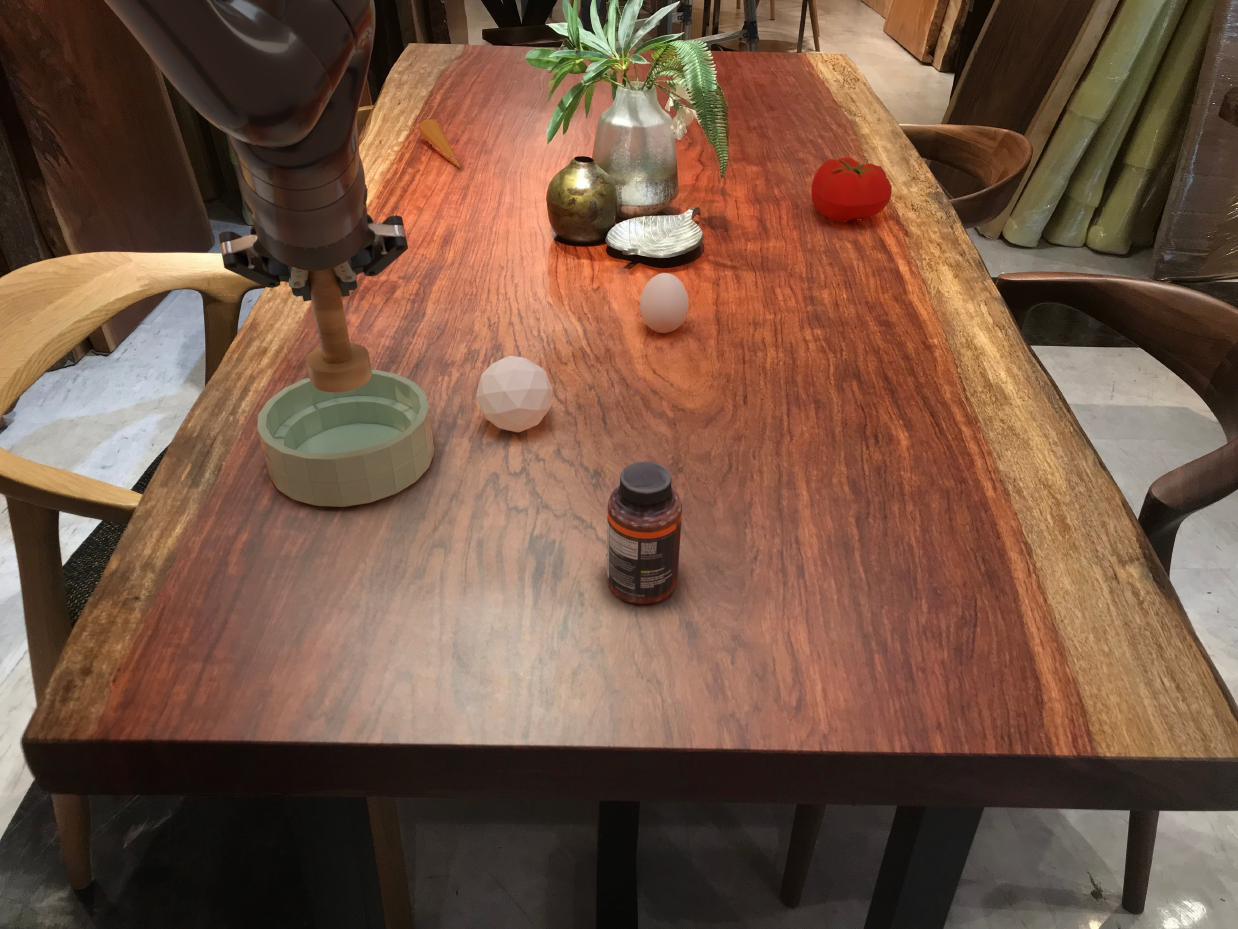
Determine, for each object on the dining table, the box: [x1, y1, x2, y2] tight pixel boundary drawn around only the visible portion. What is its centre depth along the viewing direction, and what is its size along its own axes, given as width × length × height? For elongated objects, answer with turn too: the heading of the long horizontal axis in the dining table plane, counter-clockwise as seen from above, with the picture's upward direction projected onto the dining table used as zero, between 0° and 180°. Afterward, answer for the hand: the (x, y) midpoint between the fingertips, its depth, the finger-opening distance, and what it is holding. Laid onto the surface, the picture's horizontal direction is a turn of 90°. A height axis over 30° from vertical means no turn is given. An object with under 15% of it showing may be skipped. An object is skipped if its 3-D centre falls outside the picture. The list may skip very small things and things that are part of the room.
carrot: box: [418, 118, 461, 169], centre depth 166 cm, size 20×4×4 cm, turn 26°
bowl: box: [256, 369, 435, 508], centre depth 86 cm, size 16×16×6 cm
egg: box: [639, 272, 690, 334], centre depth 110 cm, size 6×6×8 cm
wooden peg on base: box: [305, 268, 373, 392], centre depth 74 cm, size 5×5×12 cm
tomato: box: [810, 157, 893, 223], centre depth 143 cm, size 14×13×9 cm
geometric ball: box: [475, 355, 554, 433], centre depth 92 cm, size 8×8×8 cm
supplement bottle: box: [606, 461, 683, 605], centre depth 72 cm, size 6×6×11 cm
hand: (324, 287), depth 74 cm, fingers closed on wooden peg on base, 2 cm apart
